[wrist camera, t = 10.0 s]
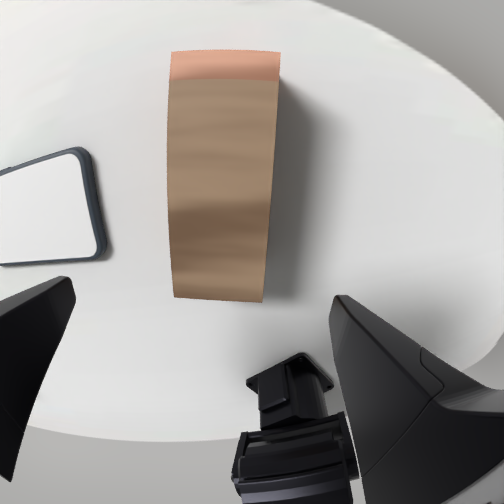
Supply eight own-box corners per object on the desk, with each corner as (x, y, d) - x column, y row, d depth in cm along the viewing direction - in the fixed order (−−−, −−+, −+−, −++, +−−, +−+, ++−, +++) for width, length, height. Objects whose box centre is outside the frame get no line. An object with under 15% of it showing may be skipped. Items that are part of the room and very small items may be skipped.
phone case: (93, 140, 17) (-24, 181, 17) (82, 143, 16) (-34, 185, 16) (114, 252, 21) (-3, 261, 21) (106, 261, 20) (-12, 268, 20)
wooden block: (262, 302, 16) (280, 52, 11) (174, 297, 16) (171, 52, 11) (260, 262, 21) (272, 71, 15) (190, 258, 20) (192, 70, 15)
